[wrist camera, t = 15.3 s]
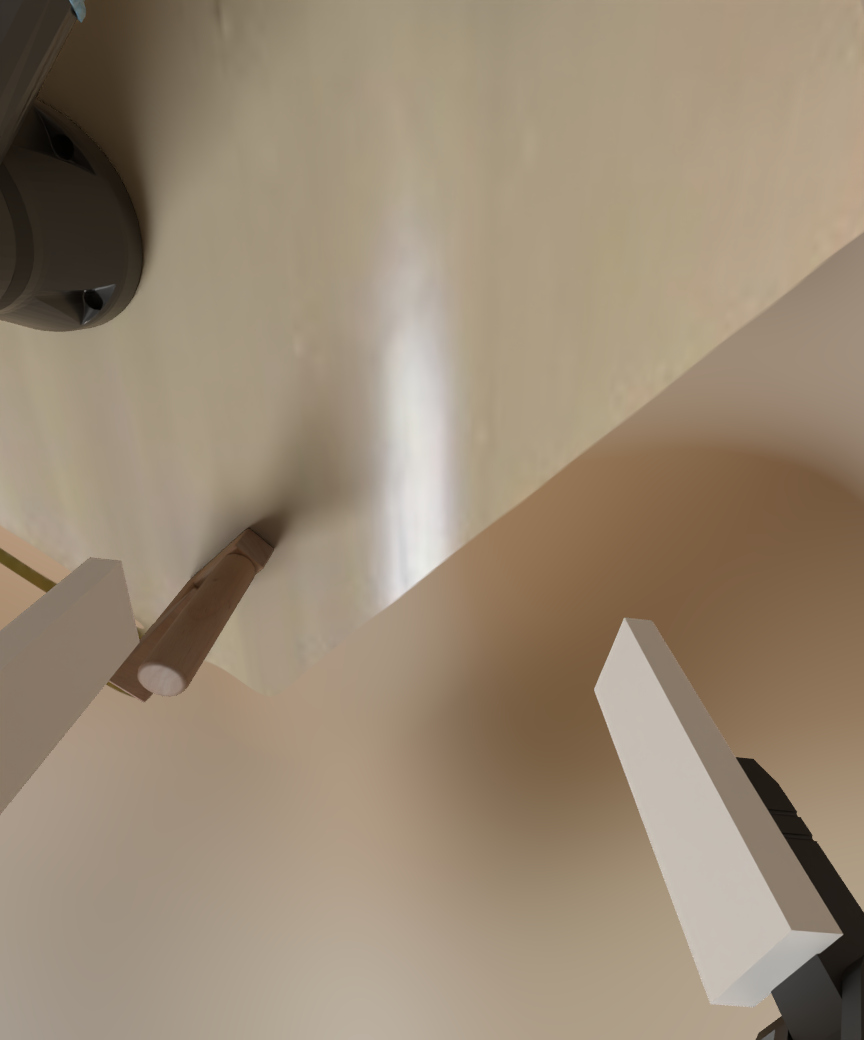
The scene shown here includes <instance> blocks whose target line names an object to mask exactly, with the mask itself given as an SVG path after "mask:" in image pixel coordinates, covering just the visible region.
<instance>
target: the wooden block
mask: <svg viewBox="0 0 864 1040" xmlns="http://www.w3.org/2000/svg"><path fill="white" fill-rule="evenodd" d="M273 551H274V549H273V548H272V547H271V546H270V545H269V544H267V543H266V542H265V541H264V540H263V539H261V538H260V537H259V536H258V535H257V534H255V533H254V532H253V531H252V530H251V529H246V530H245V531H244V532H243V533H241V534H240V535H239V536H238V537H237V538H236V539H235V540H234V541H233V542H231V543H230V544H229V545H228V546H227V547H226V548H225V549H224V550H223V551H221V552H220V553H219V554H218V555H217V556H216V557H215V558H214V559H213V560H211V561H210V562H209V563H208V564H207V565H206V567H204V568H203V569H201V570H200V571H199V572H198V573H197V574H196V575H195V576H194V577H193V578H191V579H190V580H189V581H188V582H187V584H186V585H185V586H184V587H183V588H182V590H181V591H180V592H179V593H178V595H177V596H176V597H175V598H174V600H173V601H172V602H171V603H170V604H169V606H168V607H167V608H166V609H165V611H164V612H163V613H162V614H161V616H160V617H159V618H158V619H157V621H156V622H155V623H154V624H153V625H152V626H151V627H150V628H149V630H148V631H147V632H146V633H145V635H144V636H143V637H142V638H141V639H140V643H139V644H138V645H137V646H136V647H135V649H134V650H133V651H132V652H131V654H130V655H129V656H128V657H127V659H126V660H125V661H124V662H123V664H122V665H121V666H120V667H119V668H118V670H117V671H116V672H115V673H114V675H113V676H112V677H111V678H110V680H109V682H111V683H112V684H114V685H115V686H117V687H119V688H120V689H122V690H124V691H125V692H127V693H129V694H130V695H132V696H133V697H135V698H137V699H138V700H140V701H142V702H145V701H146V700H147V699H148V698H149V697H150V696H151V695H152V694H153V693H154V694H157V695H161V696H175V695H178V694H180V693H182V692H183V691H185V689H186V688H187V687H188V686H189V684H190V682H191V681H192V679H193V677H194V676H195V674H196V672H197V671H198V669H199V667H200V666H201V664H202V663H203V661H204V659H205V658H206V656H207V654H208V653H209V651H210V649H211V648H212V646H213V644H214V643H215V641H216V639H217V638H218V636H219V634H220V633H221V631H222V630H223V628H224V626H225V625H226V623H227V621H228V620H229V618H230V616H231V615H232V613H233V611H234V610H235V608H236V606H237V605H238V603H239V601H240V600H241V598H242V597H243V595H244V593H245V592H246V590H247V588H248V587H249V585H250V583H251V582H252V580H253V578H254V576H255V575H256V574H257V573H258V572H259V571H261V570H262V569H263V568H264V566H265V565H266V563H267V561H268V560H269V558H270V556H271V554H272V553H273Z"/></svg>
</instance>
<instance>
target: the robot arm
mask: <svg viewBox="0 0 864 1040" xmlns="http://www.w3.org/2000/svg"><path fill="white" fill-rule="evenodd" d="M84 1H85V0H0V320H3V321H7V322H10V323H14V324H18V325H22V326H25V327H29V328H33V329H38V330H43V331H54V332H65V331H74V330H80V329H86V328H92V327H96V326H99V325H102V324H104V323H106V322H108V321H110V320H112V319H113V318H114V317H116V316H117V315H118V314H119V313H121V312H122V311H123V310H124V308H125V307H126V306H127V305H128V303H129V302H130V300H131V299H132V297H133V295H134V293H135V291H136V288H137V285H138V282H139V278H140V274H141V267H142V243H141V235H140V229H139V225H138V221H137V217H136V214H135V211H134V208H133V205H132V202H131V200H130V198H129V195H128V193H127V191H126V189H125V187H124V185H123V183H122V181H121V179H120V178H119V176H118V174H117V172H116V171H115V169H114V168H113V166H112V165H111V163H110V162H109V160H108V159H107V158H106V156H105V155H104V154H103V152H102V151H101V150H100V149H99V148H98V146H97V145H96V144H95V143H94V142H93V141H92V140H91V139H90V138H89V137H88V136H87V135H86V134H85V133H84V132H83V131H82V130H81V129H80V128H79V127H78V126H77V125H76V124H74V123H73V122H72V121H71V120H69V119H68V118H67V117H65V116H64V115H63V114H61V113H60V112H58V111H56V110H55V109H53V108H52V107H50V106H48V105H46V104H44V103H42V102H40V101H38V100H36V99H35V98H36V96H37V94H38V92H39V90H40V88H41V87H42V85H43V83H44V81H45V79H46V77H47V75H48V73H49V71H50V69H51V67H52V65H53V64H54V62H55V60H56V58H57V56H58V54H59V52H60V50H61V48H62V46H63V44H64V42H65V41H66V39H67V37H68V35H69V33H70V31H71V29H72V27H73V25H74V23H75V21H76V19H78V20H79V21H80V22H82V21H83V19H84V18H85V16H86V8H85V5H84ZM139 643H140V641H139V637H138V632H137V628H136V624H135V619H134V615H133V610H132V606H131V602H130V597H129V593H128V589H127V584H126V580H125V575H124V571H123V567H122V562H121V561H118V560H109V559H100V558H91V557H90V558H89V559H87V560H86V561H85V562H84V563H83V564H81V565H80V566H79V567H78V568H76V569H75V570H74V571H73V572H72V573H70V574H69V575H68V576H67V577H66V578H64V579H63V580H62V581H61V582H60V583H58V584H57V585H56V586H54V587H53V588H52V589H51V590H50V591H48V592H47V593H46V594H45V595H43V596H42V597H41V598H40V599H39V600H37V601H36V602H35V603H34V604H33V605H31V606H30V607H29V608H28V609H26V610H25V611H24V612H23V613H21V614H20V615H19V616H18V617H17V618H16V619H14V620H13V621H12V622H11V623H9V624H8V625H7V626H6V627H4V628H3V629H2V630H1V631H0V814H1V813H2V812H3V811H4V809H5V808H6V807H7V806H8V804H9V803H10V802H11V801H12V800H13V798H14V797H15V796H16V795H17V793H18V792H19V791H20V789H21V788H22V787H23V786H24V784H25V783H26V782H27V781H28V780H29V778H30V777H31V776H32V775H33V774H34V772H35V771H36V770H37V769H38V767H39V766H40V765H41V764H42V762H43V761H44V760H45V758H46V757H47V756H48V755H49V754H50V753H51V751H52V750H53V749H54V748H55V746H56V745H57V744H58V743H59V741H60V740H61V739H62V738H63V736H64V735H65V734H66V733H67V732H68V730H69V729H70V728H71V727H72V725H73V724H74V723H75V722H76V720H77V719H78V718H79V717H80V715H81V714H82V713H83V712H84V711H85V709H86V708H87V707H88V705H89V704H90V703H91V702H92V700H93V699H94V698H95V697H96V696H97V694H98V693H99V692H100V691H101V689H102V688H103V687H104V686H105V685H106V683H107V682H108V681H109V680H110V678H111V677H112V676H113V675H114V673H115V672H116V671H117V670H118V668H119V667H120V666H121V665H122V664H123V662H124V661H125V660H126V659H127V657H128V656H129V655H130V654H131V652H132V651H133V650H134V649H135V647H136V646H137V645H138V644H139ZM594 691H595V694H596V696H597V699H598V702H599V704H600V707H601V710H602V712H603V715H604V718H605V720H606V723H607V726H608V729H609V731H610V734H611V737H612V740H613V742H614V745H615V747H616V750H617V753H618V756H619V758H620V761H621V764H622V766H623V769H624V772H625V775H626V777H627V780H628V783H629V786H630V788H631V791H632V793H633V796H634V799H635V802H636V804H637V807H638V810H639V812H640V815H641V818H642V820H643V823H644V826H645V829H646V831H647V834H648V837H649V839H650V842H651V845H652V848H653V850H654V853H655V856H656V858H657V861H658V864H659V867H660V869H661V872H662V875H663V877H664V880H665V883H666V885H667V888H668V891H669V893H670V896H671V899H672V901H673V904H674V907H675V910H676V913H677V915H678V918H679V921H680V923H681V926H682V928H683V931H684V934H685V937H686V939H687V942H688V945H689V948H690V950H691V953H692V956H693V958H694V961H695V964H696V967H697V969H698V972H699V975H700V977H701V980H702V983H703V985H704V988H705V991H706V994H707V996H708V999H709V1002H710V1004H717V1005H730V1006H745V1007H755V1006H756V1005H757V1004H758V1003H759V1002H761V1001H762V1000H763V999H765V998H766V997H767V996H768V995H770V994H771V993H772V995H773V998H774V1000H775V1002H776V1004H777V1006H778V1008H779V1010H780V1013H781V1015H782V1016H781V1017H780V1018H778V1019H777V1020H776V1021H775V1022H773V1023H772V1024H770V1025H769V1026H768V1027H766V1028H765V1029H763V1030H762V1031H761V1032H759V1034H758V1036H757V1038H756V1040H864V912H863V911H862V909H861V908H860V906H859V905H858V903H857V902H856V900H855V899H854V897H853V896H852V894H851V893H850V891H849V890H848V888H847V887H846V885H845V884H844V882H843V881H842V879H841V878H840V876H839V875H838V873H837V872H836V870H835V869H834V867H833V866H832V864H831V863H830V861H829V860H828V858H827V856H826V855H825V853H824V852H823V850H822V849H821V848H820V846H819V844H818V843H817V842H816V841H814V840H813V839H812V834H811V832H810V831H809V829H808V828H807V827H806V825H805V823H804V822H803V820H802V819H801V817H798V816H797V814H796V813H797V811H796V810H795V808H794V807H793V805H792V804H791V802H790V801H789V799H788V798H787V796H786V795H785V793H784V792H783V790H782V789H781V787H780V786H779V784H778V783H777V782H776V781H775V780H774V779H773V778H772V777H771V776H770V775H769V774H768V773H767V772H766V771H765V770H764V769H763V768H762V767H761V766H760V765H759V764H758V763H757V762H756V761H755V760H754V759H748V758H738V757H735V756H734V754H733V753H732V751H731V749H730V748H729V746H728V744H727V743H726V741H725V740H724V738H723V736H722V734H721V733H720V731H719V729H718V728H717V726H716V725H715V723H714V721H713V720H712V718H711V716H710V715H709V713H708V711H707V710H706V708H705V707H704V705H703V703H702V702H701V700H700V698H699V697H698V695H697V693H696V692H695V690H694V689H693V687H692V685H691V684H690V682H689V680H688V679H687V677H686V675H685V674H684V672H683V671H682V669H681V667H680V666H679V664H678V663H677V661H676V659H675V657H674V656H673V654H672V652H671V651H670V649H669V647H668V646H667V644H666V643H665V641H664V640H663V638H662V636H661V634H660V633H659V631H658V629H657V628H656V626H655V625H654V623H653V621H650V620H640V619H632V618H624V620H623V622H622V625H621V627H620V630H619V632H618V634H617V637H616V639H615V642H614V644H613V646H612V648H611V651H610V653H609V655H608V658H607V660H606V663H605V665H604V667H603V670H602V672H601V674H600V677H599V679H598V681H597V684H596V686H595V689H594Z"/></svg>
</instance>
